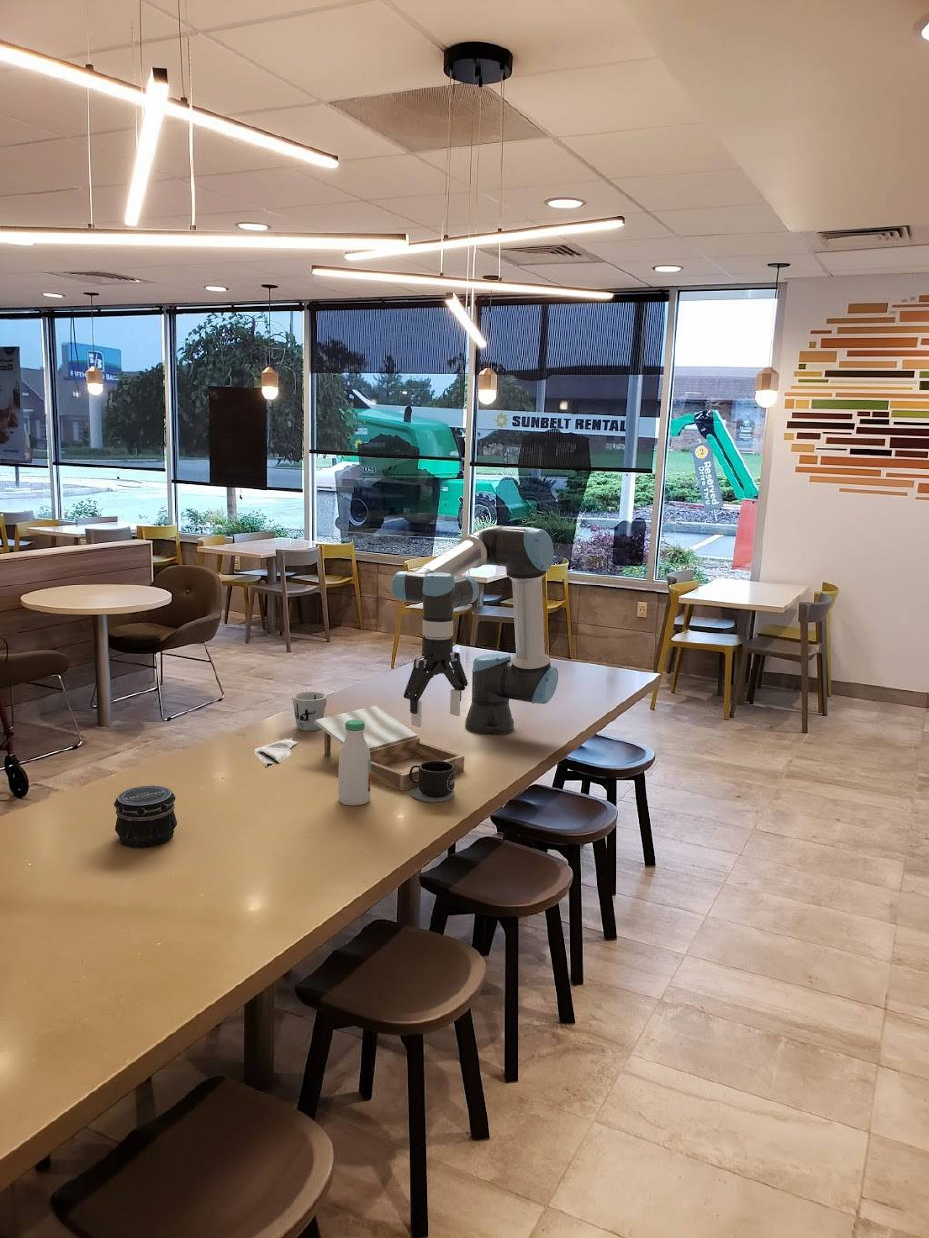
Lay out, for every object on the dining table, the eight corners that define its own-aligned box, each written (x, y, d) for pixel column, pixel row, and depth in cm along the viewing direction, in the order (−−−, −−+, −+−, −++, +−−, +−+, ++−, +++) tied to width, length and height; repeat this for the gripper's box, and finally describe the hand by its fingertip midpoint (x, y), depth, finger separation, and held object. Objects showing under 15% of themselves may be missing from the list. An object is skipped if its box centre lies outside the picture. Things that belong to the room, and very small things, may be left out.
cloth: (276, 738, 276) (276, 730, 275) (318, 743, 272) (318, 736, 272) (230, 765, 251) (230, 757, 251) (276, 771, 247) (276, 763, 247)
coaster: (432, 783, 240) (432, 781, 240) (463, 794, 233) (463, 792, 233) (401, 793, 232) (401, 791, 232) (432, 806, 225) (432, 803, 225)
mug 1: (285, 729, 282) (285, 697, 280) (311, 717, 296) (311, 686, 294) (315, 734, 278) (315, 702, 276) (340, 721, 292) (340, 690, 290)
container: (142, 855, 194) (140, 810, 192) (102, 840, 201) (100, 796, 199) (189, 835, 205) (188, 792, 203) (150, 821, 211) (149, 779, 209)
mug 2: (459, 790, 234) (460, 763, 233) (445, 802, 226) (446, 774, 225) (416, 782, 239) (417, 756, 237) (401, 794, 230) (401, 766, 229)
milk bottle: (364, 808, 223) (365, 727, 219) (334, 804, 224) (334, 724, 221) (374, 796, 230) (375, 718, 227) (344, 793, 232) (344, 716, 228)
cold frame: (374, 739, 275) (375, 705, 273) (463, 770, 251) (464, 733, 249) (314, 756, 259) (314, 719, 257) (403, 790, 235) (403, 750, 233)
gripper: (461, 627, 238) (459, 707, 242) (389, 641, 220) (388, 727, 224) (483, 632, 233) (480, 713, 237) (411, 646, 215) (410, 734, 219)
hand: (436, 720), depth 231 cm, fingers open, 13 cm apart
